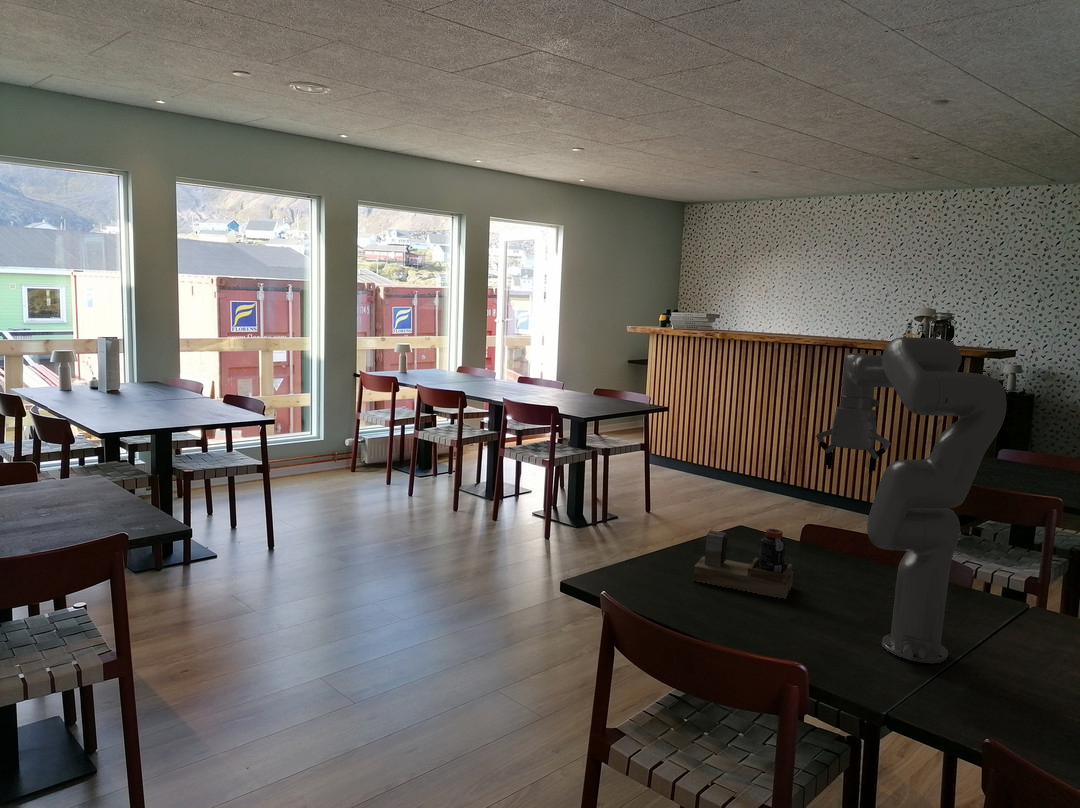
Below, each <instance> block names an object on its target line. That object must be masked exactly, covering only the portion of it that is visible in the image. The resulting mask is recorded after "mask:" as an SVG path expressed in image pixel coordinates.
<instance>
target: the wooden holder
mask: <svg viewBox="0 0 1080 808" xmlns="http://www.w3.org/2000/svg"><path fill="white" fill-rule="evenodd" d="M705 541H706V542H705V553H704V554H705V555H703V556H702V557H700V559H699V560H698V561H697V562H696V563H695V565H694V566H693V575H692V581H693V582H695V581H696V583H700V582H702V583H701V584H705V583H707V585H710V584H712V585H711V586H715V585H717V586H716V587H720V586H722V587H721V588H725V587H726V589H730V588H733V589H732V590H735V589H737V591H740V590H742V591H741V592H745V591H747V592H746V593H750V592H752V593H751V594H755V593H757V595H761V596H762V595H763V596H766V595H767V597H771V596H772V598H776V597H778V598H777V599H781V598H784V599H783V600H787V598H788V596H789V594H790V592H791V590H792V588H791V587H793V577H794V572H793V571H792V569H793V564H792V563H787V562H784V569H783V574H782V573H777V572H772V571H766V570H761V569H759V559H760V557H754V559H753V560H752V561H751V563H746V562H740V561H736V560H731V559H727V551H728V537H727V532H722V531H717V530H711V529H710V530H709V531H708V533H706V540H705ZM790 589H791V590H790ZM789 591H790V592H789ZM788 593H789V594H788ZM787 595H788V596H787ZM786 597H787V598H786Z"/></svg>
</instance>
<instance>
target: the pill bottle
mask: <svg viewBox="0 0 1080 808" xmlns="http://www.w3.org/2000/svg"><path fill="white" fill-rule="evenodd" d="M785 554H786V541H785V540H784V539H783V531H782V530H780V529H777V528H767V529H766V530H765V536H763V537H762V538H761V540H760V548H759V558H760V559H759V569H761V570H766V571H772V572H777V573H782V574H783V569H784V563H785V558H786V557H785V556H786V555H785Z"/></svg>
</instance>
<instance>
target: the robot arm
mask: <svg viewBox="0 0 1080 808" xmlns="http://www.w3.org/2000/svg"><path fill="white" fill-rule="evenodd" d="M961 364H962V353H961V350H960V348H959V347H958V346H957V345H956V344H955V343H953V342H951V341H950V340H947V339H944V338H938V337H937V338H936V337H913V336H912V337H910V336H908V337H907V336H899V337H897V338H894V339H892V340H891V341H889V342H888V344H887V345H886V346H885V348H884V350H883V353H882V355H875V354H870V353H860V352H859V353H857V352H856V353H855V352H853V353H852V352H851V353H848V354H846V355H845V356H844V361H843V369H842V370H843V371H842V382H841V390H840V391H841V392H840V403H839V406H836V409H835V413H834V417H833V421H832V427H831V428H830V429H827V430H824V431H822V432H819V433H817V434H816V436H815V437H816V438H817V439H816V440H817V441H818V442H817V443H819V446H820V447H821V449H823V450H824V452H825V463H824V464H825V466H827V470H831V469H832V467H833V458H834V452H833V450H834V449H836V448H841V449H849V450H857V451H858V450H860V451H867V453H869V454H870V455H871V456H870V459H869V464H868V465H869V466H868V474H869V475H870V476H872V475H873V472H876V470H877V459H878V458H880V457H881V456H882V455H883V454H885V453H886V451H887V450H888V449H889V447H890V446H891V444H892V443H891V441H890V440H888V439H886V438H884V437H883V436H882V435H880V434H878V433H877V413H876V411H877V410H876V409H873V408H874V407H879V406H880V400H876V399H875V398H874V395H875V388H891V389H892V388H893V389H894V391H895V393H896V394H897V396H898V397H899V399H900V401H901V402H902V405H904V407H905V408H906V409H907V411H908V412H911V413H913V414H916V415H918V416H920V415H921V416H935V417H939V416H941V417H942V416H943V417H959V419H958V420H957V421H955V422H953V423H952V424H950V425H949V426H948V427H947V428H946V429H944V431H942V432H941V434H940V435H939V436H938V438H937V439H936V441H935V443H934V445H933V448H932V451H931V453H930V455H929V456H928V457H927V458H924V459H900V460H895V461H893V462H891V463H890V464H889V465H888V466H887V467H886V469H885V470H884V471H883V473H882V476H881V478H880V481H879V484H878V487H877V490H876V493H875V495H874V499H873V501H872V504H871V508H870V511H869V514H868V518H867V523H866V527H867V528H866V530H867V531H866V532H867V535H868V539H869V541H870V542H871V543H872V545H874V546H875V547H877V548H879V549H881V550H887V551H906V552H905V553H904V555H903V557H902V558H901V560H900V561H899V564H898V567H897V572H896V573H897V575H896V580H895V581H896V583H895V592H894V601H893V602H894V603H893V609H892V610H893V611H892V619H891V620H892V621H891V626H890V627H891V628H890V629H891V630H890V633H889V634H886V635H884V636H883V637H882V639H881V646H882V648H883V647H884V648H885V649H886V650H887V651H886V650H885V649H884V648H883V649H884V650H885V651H886V652H888V651H889V652H891V653H893V654H895V655H897V656H899V657H903V658H906V659H910V660H914V661H920V662H939V661H943V660H945V659H946V658H947V657H948V658H949V651H948V650H947V648H946V647H945V646H944V645H942V637H943V630H944V628H943V627H944V622H945V621H944V620H945V611H946V604H947V594H948V589H949V588H948V587H949V579H950V574H951V573H950V571H951V565H952V561H953V556H954V555H955V554H954V553H955V551H956V548H957V544H958V541H959V539H960V535H961V523H960V519H959V517H958V516H957V514H956V513H955V512H954V511H953V510H952V509H953V508H957V507H959V506H961V505H962V504H963V503H964V501H965V500H966V498H967V496H968V494H969V492H970V489H971V488H972V485H973V483H974V480H975V478H976V475H977V473H978V470H979V467H980V465H981V463H982V460H983V458H984V455H985V454H986V452H987V450H988V449H989V447H990V445H991V444H992V443H993V441H994V440H995V438H996V437H997V436H998V434H999V431H1000V430H1001V428H1002V426H1003V424H1004V420H1005V417H1006V415H1007V414H1006V413H1007V407H1008V406H1007V405H1008V404H1007V403H1008V402H1007V395H1006V391H1005V389H1004V386H1003V385H1002V384H1001V383H1000V381H998V380H997V379H996V378H995V377H992V376H989V375H986V374H982V373H977V372H976V373H975V372H961V371H959V372H958V370H959V368H960V367H961ZM828 436H830V445H828V444H827V442H826V441H825V440H824V438H826V437H828ZM876 441H877V442H879V443H881V444H882V446H881V447H880V449H878V450H876V448H874V447H875V445H876ZM889 652H888V653H889ZM899 657H898V658H899Z"/></svg>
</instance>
